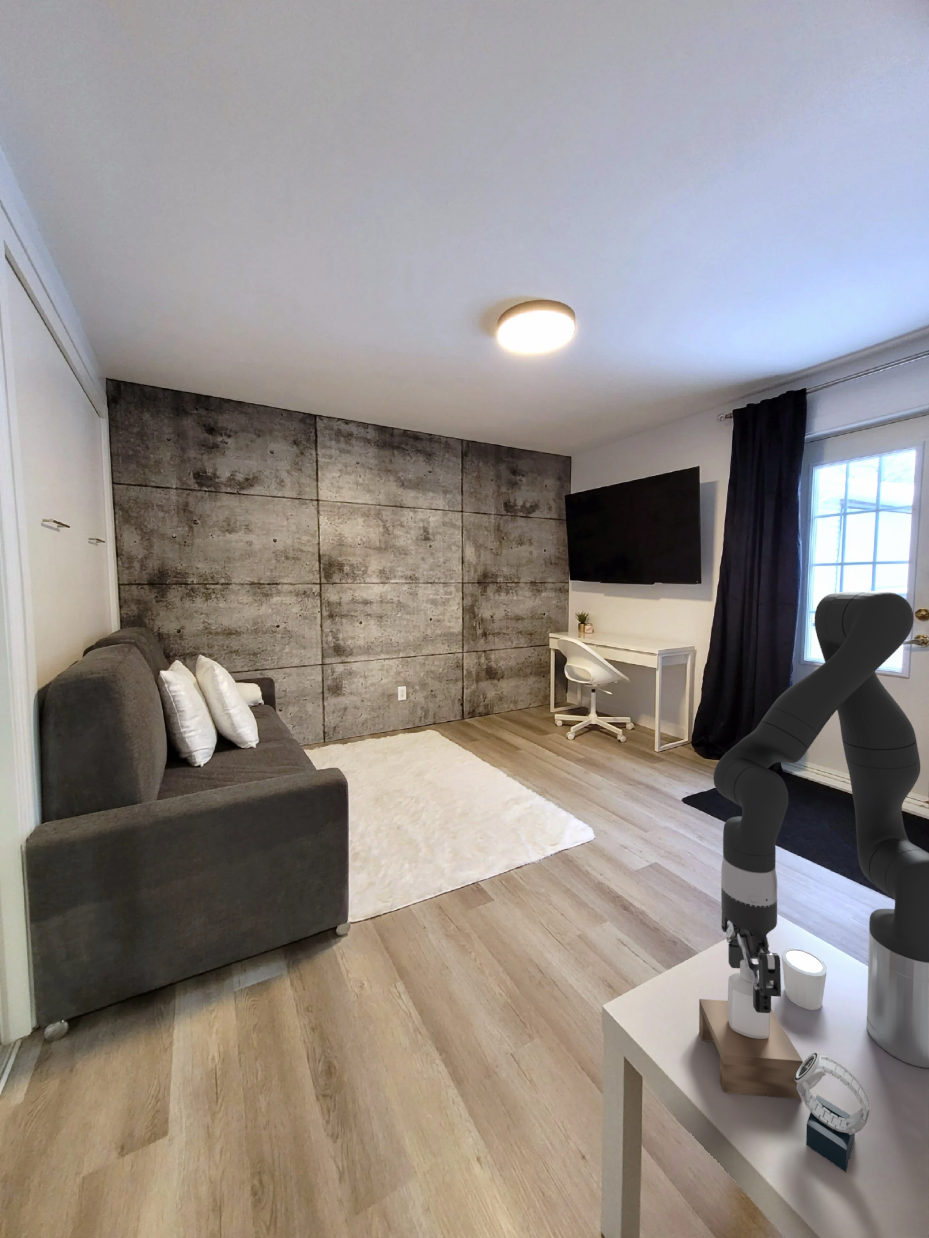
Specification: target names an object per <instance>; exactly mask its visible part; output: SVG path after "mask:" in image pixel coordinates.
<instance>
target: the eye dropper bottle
mask: <svg viewBox="0 0 929 1238" xmlns="http://www.w3.org/2000/svg"><path fill="white" fill-rule="evenodd" d="M750 959H751V958H750ZM751 962H752V963H753V964H756V963H755V962H754V961H753V959H751ZM757 975H758V976H759V970H757ZM758 979H759V977H758ZM727 1001H728V1021H729V1025H730V1027H731V1029H732V1030H733V1031H735V1032H737V1033H739V1034H741V1035H744V1036H747V1037H750V1038H755V1039H766V1038H768V1037H769V1036H770V1013H758V1012H756V1010H755V1009H754V1007H753V980H752V976H751V972H750V970H748V969H747V968H746V965H745V961H744V959H743V960H741V961H740V968H739V972H737V973H734V974H731V975H729V976H728V983H727Z"/></svg>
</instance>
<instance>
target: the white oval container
mask: <svg viewBox="0 0 929 1238" xmlns="http://www.w3.org/2000/svg"><path fill="white" fill-rule="evenodd" d="M781 962H782V963H781V965H782V973H783V983H784V992H785V995H786V996H787V998H788V999H789V1000H790V1001H791V1002H792V1003H794V1005H797V1006H799V1007H800V1008H803V1009H806V1010H809V1011H817V1010H820V1009H821V1008H822V1007H823V999H824V994H825V987H826V978H827V974H828V973H827V971H828V967H827V965H826V963H825V962H824V961H823V960H822V959H821V958H820V957H819V956H817V955H815V954H814V953H813V952H811V951H808V950H805V949H803V948H797V947H787V948H785V949H783V950H782V953H781Z"/></svg>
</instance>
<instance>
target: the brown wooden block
mask: <svg viewBox="0 0 929 1238" xmlns="http://www.w3.org/2000/svg"><path fill="white" fill-rule="evenodd" d="M698 1004H699V1005H698V1006H699V1008H698V1011H699V1012H698V1025H699V1026H698V1032H699V1033H698V1034H699V1035H700V1038H701V1040H702V1041H704V1042H714V1045H715V1047H716V1049H717V1052H718V1054H719V1084H720V1087H721V1089H722V1092H723V1094H724V1093H725V1094H733V1095H734V1094H737V1095H746V1096H760V1097H768V1098H769V1097H771V1098H782V1099H793V1100H795V1099H796V1100H802V1099H801V1097H800V1095H799V1093H798V1091H797V1084H798V1083H797V1082H796V1081H795V1075H796V1073H797V1071H798V1069H799V1067H800V1066H801V1065H802V1063H803V1062H804V1061H803V1059H802V1057H801V1056H800V1054H799V1052H798V1051H797V1049H796V1047H795V1045H794V1044H793V1042H792V1040H791V1038H790V1037H789V1035H788V1034H787V1032H786V1030H785V1029H784V1027H783V1025H782V1024H781V1022H780V1020H779V1018H778V1017H777V1015H776V1014H775V1012H774V1011H773V1009H772V1008H771V1012H770V1036H769V1037H768V1038H766V1039H755V1038H750V1037H747V1036H744V1035H741V1034H739V1033H737V1032H735V1031H733V1030H732V1029H731V1027H730V1025H729V1021H728V1000H723V999H722V1000H720V999H705V998H699V1002H698Z"/></svg>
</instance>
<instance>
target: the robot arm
mask: <svg viewBox="0 0 929 1238" xmlns="http://www.w3.org/2000/svg"><path fill="white" fill-rule="evenodd" d="M914 621H915V619H914V612H913V607H912V606H911V604H910V603H909V602H908V600H907V599H906V598H904V597H903V596H902V595H900V594H897V593H895V592H890V591H884V590H883V591H878V590H875V591H874V590H873V591H872V590H871V591H867V590H865V591H838V592H833V593H832V592H831V593H829V594H827V595H826V596H824V597H823V598H822V599H821V600H820V601H819V602H818V604H817V606H816V609H815V613H814V629H815V633H816V637H817V641H818V644H819V647H820V650H821V653H822V657H823V660H824V663H823V664H822V665H821V666H820V667H818V668H817V669H815V670H814V671H812V672H810V673H809V674H808V675H806V676H805V677H803V678H802V679H800V680H798V681H797V682H795V683H794V684H793V685H791V686H790V687H789V688H787V689H786V690H785V691H784V692H783V693H781V694H780V695H779V696H778V697H777V698H776V700H775V701H774V702H773V703H772V705H771V706H770V708H769V709H768V711H767V712H766V713H765V714H764V716H763V718H762V719H761V720H760V722H759V724H757V727H756V728H755V729H754V730H753V731H751V732H750V733H749V734H747V735H746V736H744V737H743V738H742V739H741V740H740V741H739V742H737V743H736V744H734V746H733V747H731V748H730V749H729V750H728V751H727V752H725V754H723V755H722V757H721V758H720V759H719V761H718V762H717V764H716V766H715V769H714V771H713V784H714V787H715V789H716V790H717V792H718V793H719V794H721V796H722V797H724V798H726V799H727V800H729V801H731V802H733V803H734V804H735V805H737V806H739V807H740V808H741V811H742V815H740V816H738V815H737V816H731V817H730V818H728V819H727V820H726V821H725V823H724V824H723V830H722V831H723V832H722V862H721V872H720V873H721V875H720V877H721V880H720V882H721V883H720V884H721V885H720V886H721V888H720V890H721V891H720V892H721V897H720V898H721V900H720V902H721V924H720V925H721V926H720V927H721V930H722V932H723V933H726V935H725V941H726V943H728V944H727V945H728V949H727V950H728V965H729V966H730V968H731V969H740V961H741V960H743V959H744V961H745V965H746V968H747V969H748V970H750V972H751V976H752V980H753V1007H754V1009H755V1010H756V1012H758V1013H770V1012H771V1009H772V997H777V998H778V997H779V998H781V997H782V979H781V977H782V976H781V958H780V955H779V954H778V952H771V951H770V950H769V948H770V944H769V941H768V937H767V936H768V934H769V933H770V932H771V931H773V930H774V929H776V927H777V926H778V877H777V871H776V869H777V868H776V854H777V853H776V851H777V850H776V849H777V848H776V847H777V846H776V841H777V839H778V835H779V833H780V830H781V827H782V825H783V821H784V818H785V816H786V814H787V813H786V812H787V811H788V807H789V792H788V791H789V790H788V789H787V786H786V783H785V781H784V780H783V778H782V777H781V776H780V775H779V774H778V773H777V772H775V771H774V770H771V769H770V767H771V766H773V765H774V764H776V763H787V764H795V763H797V762H799V761H800V760H801V759H802V758H803V757H804V756H805V755H806V753H807V751H808V750H809V749H810V747H811V746H812V744H813V743H814V741H815V740H816V738H817V737H818V736H819V734H820V733H821V731H822V730H823V728H824V727H825V726H826V724H827V723H828V722H829V720H830V719H831V718H832V717H833V716H834V714H835V712H837V715H838V719H839V727H840V735H841V740H842V745H843V751H844V756H845V760H846V764H847V770H848V774H849V779H850V786H851V794H852V798H853V806H854V814H855V830H856V831H855V832H856V849H857V850H856V851H857V858H858V859H857V861H858V864H859V867H860V869H861V872H862V874H863V876H865V877H866V878H867V880H868V881H869V882H870V883H872V884H873V885H874V886H875V887H877V889H879V890H881V891H882V892H883V893H885V894H886V895H888V896H889V897H890V898H892V899H894V908H878V909H876V910H874V911H872V912H871V914H870V916H869V922H868V923H869V924H868V925H869V927H868V930H869V931H868V961H867V963H868V966H867V967H868V968H867V995H866V996H867V1003H866V1004H867V1005H866V1030H867V1031H868V1034H869V1036H870V1037H871V1038H872V1039H873V1041H874V1042H875V1043H876V1045H878V1046H879V1047H880V1048H882V1049H883V1050H884V1051H886V1052H887V1053H888V1054H890V1055H891V1056H893V1057H895V1058H896V1059H898V1060H900V1061H902V1062H904V1063H907V1064H909V1065H911V1066H915V1067H920V1068H926V1069H927V1068H929V852H928V851H926V850H924V849H922V848H921V847H919V846H917V845H915V844H913V843H912V842H911V841H910V840H909V838H908V836H907V832H906V830H905V825H904V819H903V804H904V801H905V800H906V798H907V796H909V794H910V793H911V791H912V789H913V788H914V787H915V785H916V783H917V781H918V779H919V777H920V773H921V759H920V754H919V753H920V752H919V748H918V742H917V737H916V732H915V729H914V727H913V725H912V723H911V721H910V719H909V718H908V716H907V714H906V713H905V712H904V711H903V709H902V708H901V706H900V705H899V703H897V701H896V700H895V699H894V698H893V696H892V695H891V694H890V692H889V691H888V690H887V688H885V686H884V685H883V683H882V682H881V681H880V679H879V677H878V675H877V673H876V671H877V670H878V669H879V668H880V667H881V666H882V665H883V664H884V663H885V662H886V661H887V660H888V659H889V658H890V657H891V656H892V655H893V654H894V653H895V652H897V650H898V649H899V648H900V647H901V646H902V644H904V642H905V641H906V640H907V639H908V638H909V635H910V634H911V631H912V629H913V625H914ZM728 922H730V923H728ZM750 958H751V959H752V960H756V961H757V963H755V964H753V963H752V962H751V959H750ZM757 970H758V975H757ZM758 978H759V979H758Z"/></svg>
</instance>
